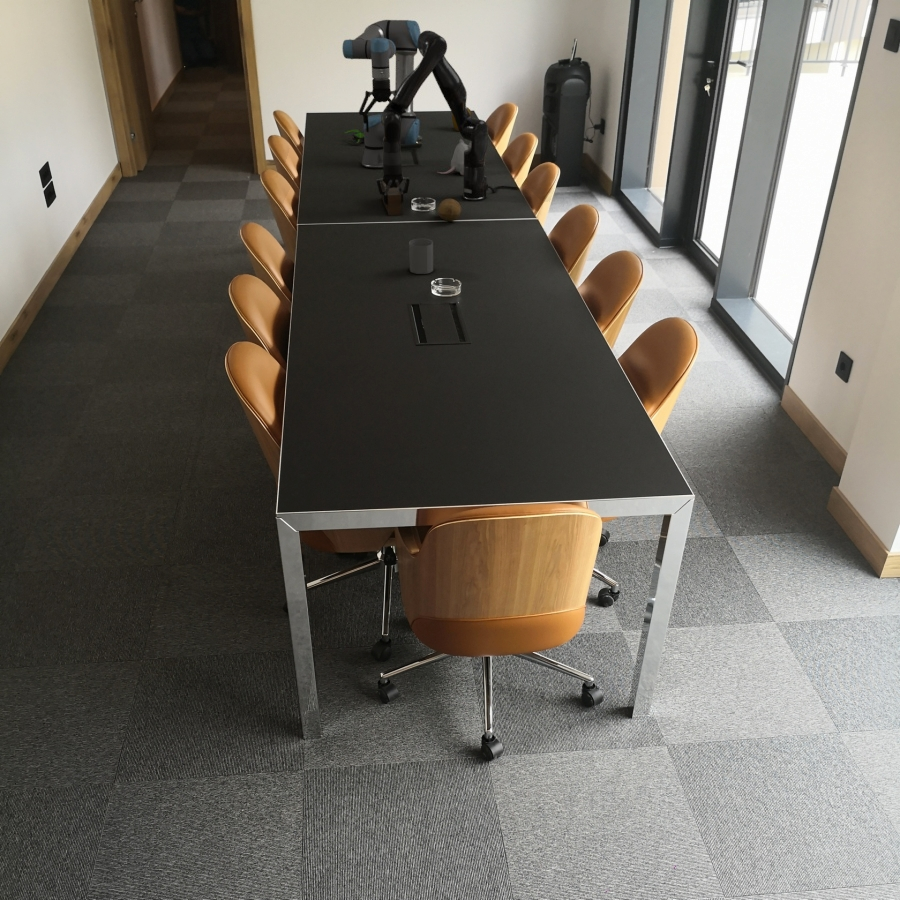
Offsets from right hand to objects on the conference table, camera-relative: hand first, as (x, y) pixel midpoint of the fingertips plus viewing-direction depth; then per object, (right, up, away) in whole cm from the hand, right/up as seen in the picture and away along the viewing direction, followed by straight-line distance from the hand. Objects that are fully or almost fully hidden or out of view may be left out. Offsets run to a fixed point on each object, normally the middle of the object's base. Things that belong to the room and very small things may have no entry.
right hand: (393, 203), depth 362 cm
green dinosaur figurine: (-19, +62, +105) cm, 123 cm away
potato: (+23, -9, -6) cm, 26 cm away
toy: (+26, +28, +50) cm, 63 cm away
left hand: (-6, +36, +17) cm, 41 cm away
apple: (+30, +78, +129) cm, 153 cm away
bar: (-2, +1, +9) cm, 9 cm away
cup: (+13, -39, -54) cm, 68 cm away
